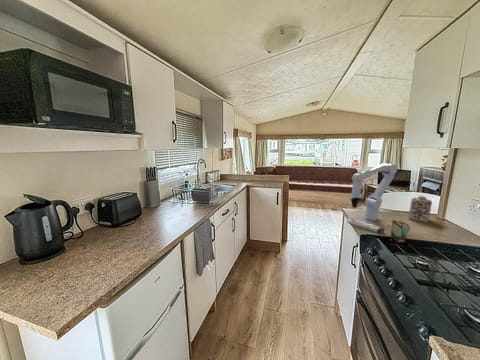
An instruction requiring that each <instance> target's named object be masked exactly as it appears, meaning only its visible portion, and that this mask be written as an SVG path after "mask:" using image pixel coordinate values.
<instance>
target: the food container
mask: <svg viewBox="0 0 480 360" xmlns="http://www.w3.org/2000/svg"><path fill="white" fill-rule="evenodd" d="M409 231H411V226H410V224H408V223H406V222H404V221H402V220H401V221H400V220H397V219H396V220H395V219H394V220H393V219H392V221H391V232H390V237H392V238H393V239H394V240H395V241H396V242H398V243H400V244H402V243H406V240H407V238H408V237H407V236H408V234H409Z"/></svg>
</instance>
